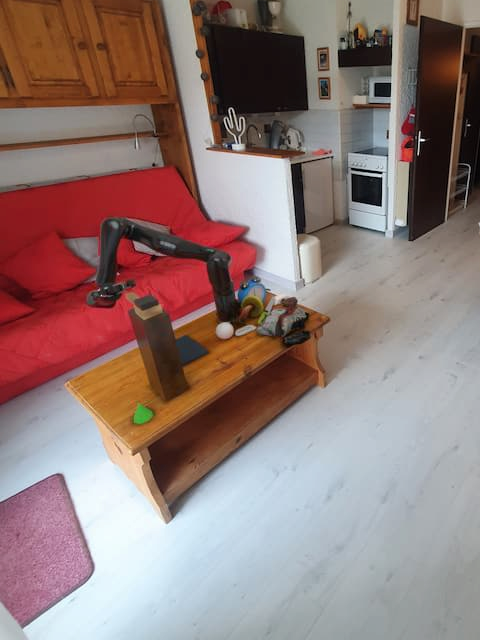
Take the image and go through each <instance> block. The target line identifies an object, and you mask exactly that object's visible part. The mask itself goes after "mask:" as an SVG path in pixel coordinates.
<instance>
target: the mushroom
mask: <svg viewBox="0 0 480 640" xmlns="http://www.w3.org/2000/svg"><path fill="white" fill-rule="evenodd" d="M264 310H265V308H264V302H263V303H262V301H261V300H260V298H258V297H256V296H254V295H249V296H247V297H245V298H244V300H243V302H242V304H241V312H240V317H239V318H238V319H237V318H236V319H235V318H231V320H230V322H231V323H230V324H231V325H232V326H233V325H234V323H235V324H236V325H238V324H239V323H241V324H247V325H249V323H248V322H246V319H247V318H258V317H260V316H261V315H262V313H263V311H264Z"/></svg>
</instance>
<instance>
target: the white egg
mask: <svg viewBox="0 0 480 640" xmlns="http://www.w3.org/2000/svg"><path fill="white" fill-rule="evenodd" d="M234 330H235V329H234V326H233V325H232V324H231V323H228V322H223V323H219V324H218V325H217V326H216V328H215V334H216V336H217V337H218V339H221V340H228V339H230V338H232V337H233V335H234V334H235V332H234Z"/></svg>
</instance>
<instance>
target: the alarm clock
mask: <svg viewBox="0 0 480 640" xmlns="http://www.w3.org/2000/svg"><path fill="white" fill-rule="evenodd" d="M266 289H267V288H266V287H265V285H264V284H263V283H262V279H261V278H260V277H259V276H257V275H256V276H252V277H251V278H250V279H248V280H243V281H241V282H240V283H239V288H238V291H237V299H238V302H241V305H242V302H243V300H244V298H245V297H247V296H249V295H254V296H256V297H258V298H260V300H261V301H262V303H263V304H264V302H265V299H266V297H267V290H266Z"/></svg>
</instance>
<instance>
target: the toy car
mask: <svg viewBox="0 0 480 640" xmlns="http://www.w3.org/2000/svg"><path fill="white" fill-rule="evenodd" d="M311 338H312V333H311V332H310V330H305V329H301V331H299V332H294V333H293V334H286V335H285V336H284V337H283V338H282V345H283V346H284V347H287V348H290V347H293V346H296V345H297V346H298V345H302V344H303V343H306V342H307V341H309V340H310V339H311Z"/></svg>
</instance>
